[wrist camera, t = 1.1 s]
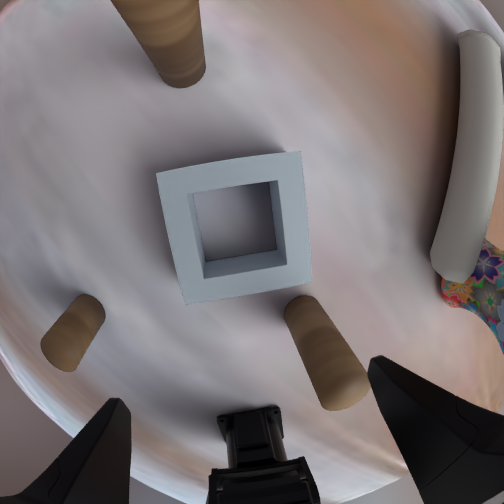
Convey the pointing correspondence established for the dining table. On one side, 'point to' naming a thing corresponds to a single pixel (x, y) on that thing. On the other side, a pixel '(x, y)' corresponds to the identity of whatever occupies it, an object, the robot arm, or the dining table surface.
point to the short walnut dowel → (73, 333)
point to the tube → (472, 159)
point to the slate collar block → (248, 266)
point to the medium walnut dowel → (326, 355)
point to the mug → (482, 290)
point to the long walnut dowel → (168, 37)
